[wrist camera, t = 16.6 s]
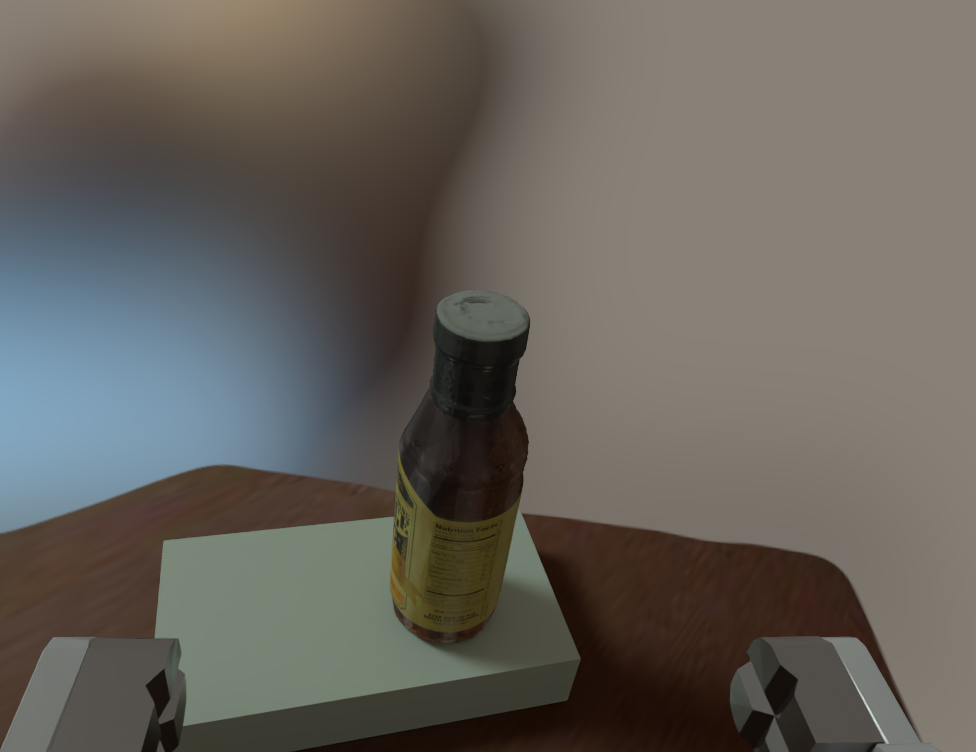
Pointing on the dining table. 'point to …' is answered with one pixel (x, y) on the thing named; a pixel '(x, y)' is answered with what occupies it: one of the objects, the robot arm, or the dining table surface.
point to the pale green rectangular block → (342, 640)
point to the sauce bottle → (461, 471)
